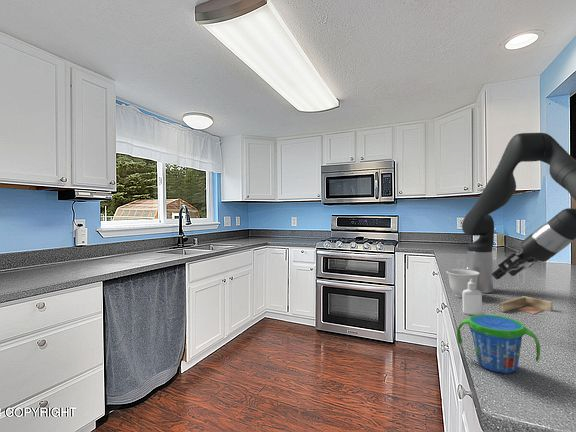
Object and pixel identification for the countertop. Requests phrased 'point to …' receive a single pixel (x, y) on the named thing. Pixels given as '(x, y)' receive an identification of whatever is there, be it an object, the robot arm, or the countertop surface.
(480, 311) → the eye dropper bottle
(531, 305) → the tan l-shaped piece
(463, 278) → the teacup
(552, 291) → the countertop surface
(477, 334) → the snack cup
